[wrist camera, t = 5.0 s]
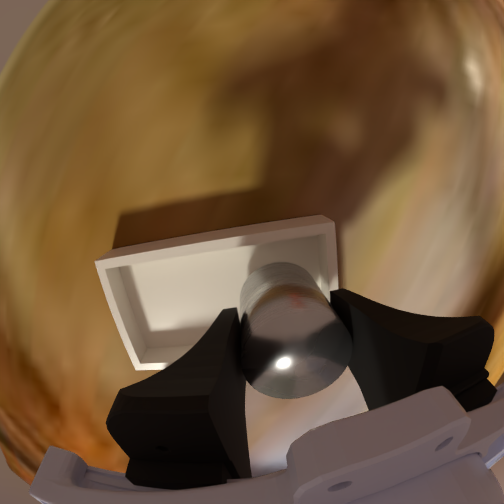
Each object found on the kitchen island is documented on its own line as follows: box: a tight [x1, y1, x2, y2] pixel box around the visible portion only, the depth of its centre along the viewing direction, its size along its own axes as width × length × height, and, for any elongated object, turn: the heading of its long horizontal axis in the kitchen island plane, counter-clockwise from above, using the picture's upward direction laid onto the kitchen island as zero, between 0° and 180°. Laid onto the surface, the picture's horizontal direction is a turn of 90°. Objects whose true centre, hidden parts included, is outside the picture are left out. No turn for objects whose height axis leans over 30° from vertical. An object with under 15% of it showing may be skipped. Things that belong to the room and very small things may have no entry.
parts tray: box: [95, 215, 338, 370], centre depth 14 cm, size 12×7×2 cm, turn 98°
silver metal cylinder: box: [240, 262, 352, 399], centre depth 11 cm, size 4×4×5 cm
